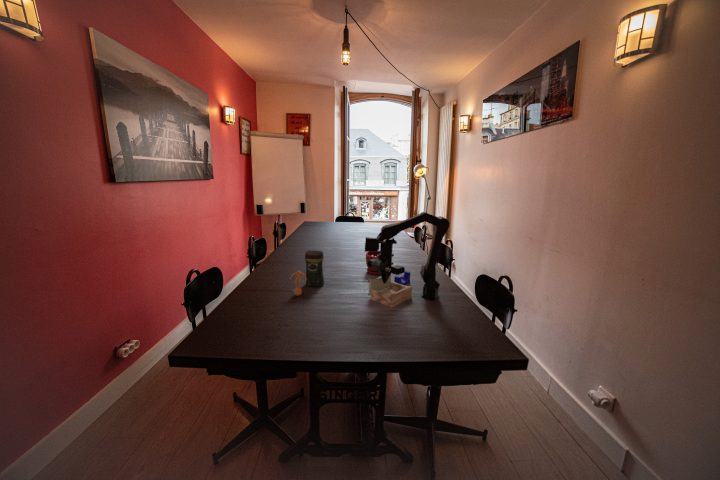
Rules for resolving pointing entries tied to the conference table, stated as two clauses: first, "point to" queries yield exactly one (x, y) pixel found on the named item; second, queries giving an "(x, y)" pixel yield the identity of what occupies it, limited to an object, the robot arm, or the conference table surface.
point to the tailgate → (378, 284)
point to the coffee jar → (314, 268)
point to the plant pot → (370, 257)
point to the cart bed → (392, 294)
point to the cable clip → (403, 278)
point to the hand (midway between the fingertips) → (384, 283)
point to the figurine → (298, 290)
